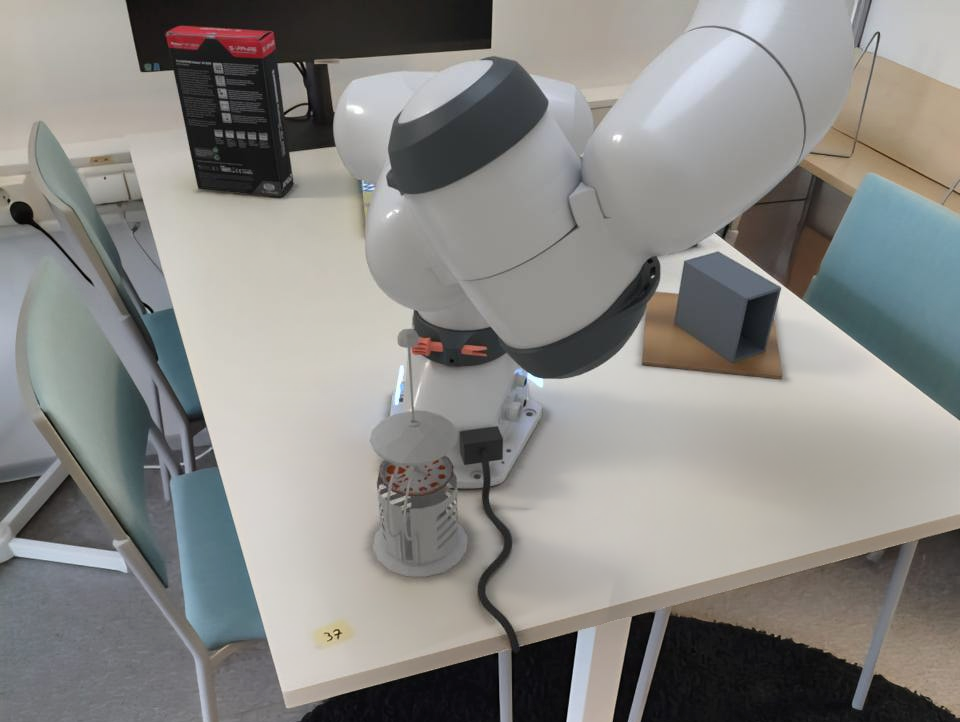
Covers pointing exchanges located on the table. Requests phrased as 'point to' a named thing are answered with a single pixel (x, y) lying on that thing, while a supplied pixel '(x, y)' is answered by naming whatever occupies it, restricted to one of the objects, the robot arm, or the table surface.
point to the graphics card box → (232, 109)
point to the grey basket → (726, 306)
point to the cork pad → (697, 345)
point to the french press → (417, 489)
